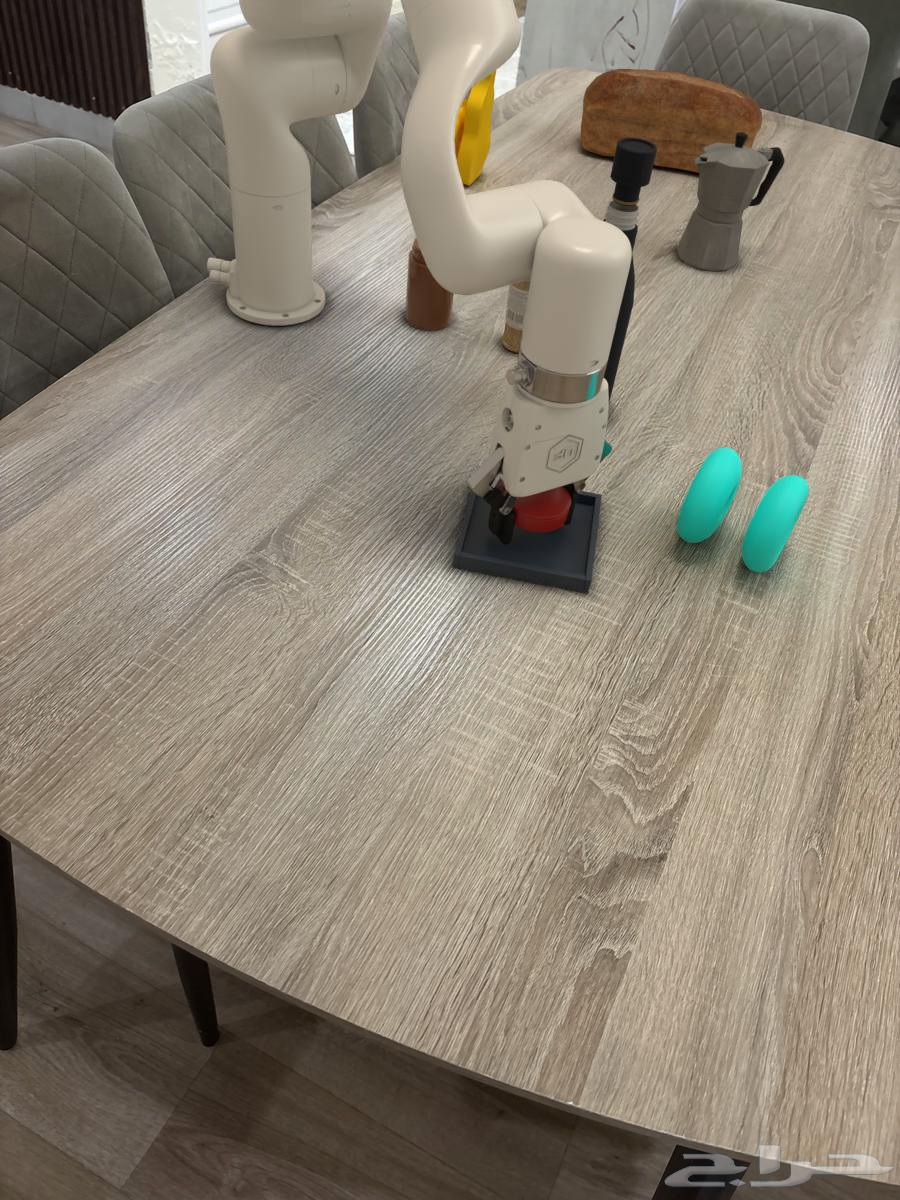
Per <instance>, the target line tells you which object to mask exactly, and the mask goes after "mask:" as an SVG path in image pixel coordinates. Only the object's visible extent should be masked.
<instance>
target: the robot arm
mask: <svg viewBox="0 0 900 1200" xmlns="http://www.w3.org/2000/svg"><path fill="white" fill-rule="evenodd" d="M238 2H239V3H238V4H239V9H240V11H241V13H242V16H243V18H244V20H245V22H246V23H247V24H248V26H242V27H239V28H235V29H233V30H231V31H228V32H227V33H225V34H224V35H222V36H221V37H220V38H219V39H218V40H217V41H216V42H215V44H214V46H213V48H212V50H211V53H210V60H209V69H210V70H209V71H210V77H211V82H212V87H213V91H214V94H215V99H216V103H217V106H218V112H219V117H220V120H221V126H222V131H223V137H224V143H225V151H226V161H227V173H228V182H229V184H228V185H229V196H230V207H231V220H232V231H233V243H234V257H235V259H234V258H233V259H232V260H231V261H229V260H224V258H223V259H222V258H218V257H217V258H216V257H211V256H209V258H208V259H207V262H206V271H207V272H208V274H209V281H210V282H214V283H223V284H226V285H227V286H228V287H227V290H226V292H225V293H226V294H225V295H226V296H225V297H226V304H227V306H228V308H229V310H230V311H231V312H232V313H233V314H234V315H236V316H237V317H239V318H240V319H243V320H245V321H248V322H251V323H253V324H258V325H263V326H272V327H273V326H274V327H278V326H280V327H281V326H283V327H284V326H291V325H292V326H293V325H297V324H303V323H305V322H308V321H309V320H311V319H314V318H315V317H317V316H318V315H319V314H320V313H321V312H322V311H323V310H324V308H325V305H326V292H325V290H324V288H323V287H322V286H321V284H319V283H318V282H317V281H315V280H314V271H313V270H314V268H313V266H314V265H313V225H312V222H313V221H312V220H313V219H312V179H311V175H312V174H311V166H310V165H311V164H310V160H309V157H308V155H307V153H306V150H305V149H304V148H303V146H302V145H301V144H300V143H299V141H298V140H297V139H296V138H295V136H294V135H293V133H292V132H291V130H290V126H291V125H292V124H295V123H298V122H302V121H305V120H311V119H317V118H324V117H332V116H337V115H341V114H345V113H348V112H349V111H352V110H354V109H355V108H356V107H358V105H359V104H360V103H361V102H362V100H363V98H364V96H365V95H366V91H367V89H368V87H369V83H370V80H371V77H372V74H373V71H374V68H375V64H376V61H377V59H378V55H379V52H380V49H381V46H382V42H383V39H384V36H385V33H386V30H387V27H388V23H389V19H390V16H391V13H392V7H393V0H238ZM400 4H401V6H402V10H403V13H404V18H405V20H406V21H405V22H406V24H407V27H408V31H409V35H410V38H411V41H412V45H413V48H414V51H415V55H416V58H417V63H418V79H417V82H416V86H415V88H414V90H413V93H412V96H411V98H410V101H409V104H408V108H407V110H406V113H405V114H406V115H405V119H404V124H403V129H402V137H401V146H400V147H401V148H400V180H401V181H400V182H401V187H402V193H403V197H404V201H405V204H406V207H407V211H408V214H409V217H410V221H411V225H412V227H413V232H414V235H415V239H416V238H417V241H418V244H419V247H420V250H421V252H422V255H423V257H424V260H425V262H426V265H427V267H428V269H429V270H430V272H431V274H432V275H433V277H434V278H435V280H436V281H437V282H438V283H439V284H440V285H441V286H442V287H443V288H444V289H446V290H448V291H449V292H451V293H454V295H457V296H458V295H459V296H472V295H477V294H478V295H479V294H481V293H485V292H490V291H493V290H497V289H500V288H504V287H508V286H510V285H511V284H515V283H518V282H522V281H530V287H529V293H528V300H527V306H526V312H525V318H524V325H523V331H522V337H521V344H520V350H519V353H518V357H517V363H516V365H515V366H514V367H513V368H509V369H507V371H506V375H505V376H506V381H507V383H508V385H507V388H506V389H505V392H504V395H503V398H502V401H501V403H500V407H499V410H498V414H497V417H496V420H495V425H494V428H493V433H492V436H491V442H490V448H489V456H488V458H487V459H485V461H484V462H483V463H482V464H481V465H480V466H479V467H478V468H477V469H476V470H475V471H474V472H473V474H471V475H470V476H469V477H468V479H466V485H467V487H469V488H470V490H471V491H473V492H474V493H475V494H477V495H478V496H479V497H481V498H482V499H484V500H485V501H486V502H487V503H488V504H489V505H491V509H490V515H489V521H488V526H489V529H490V531H491V532H492V533H493V534H494V535H496V536H497V537H498V538H499V540H500V541H501V542H502V543H503V544H504V545H507V544H510V542H511V540H512V534H513V529H514V523H515V518H516V513H515V512H514V511H513V510H512V509H513V507H514V505H515V503H516V502H517V500H518V498H519V497H525V496H530V495H533V494H537V493H540V492H544V491H547V490H551V489H554V488H557V487H561V486H563V487H564V488H565V489H566V490H567V491H568V493H569V494H570V497H571V505H570V509H569V512H568V516H567V519H566V522H565V524H563V525H568V524H570V523H571V520H572V516H573V512H574V507H575V503H576V499H577V493H578V492H581V491H584V490H585V488H586V486H587V485H586V481H587V480H588V479H589V478H590V477H591V476H592V475H594V474H595V473H596V472H597V470H598V468H599V466H600V464H601V463H602V462H603V461H604V460H605V459H606V457H607V456H609V455H610V453H611V452H612V451H613V446H612V445H611V444H610V443H609V442H608V441H607V440H606V434H607V433H606V432H607V427H608V419H609V408H610V407H609V406H610V402H609V394H608V383H607V381H606V380H605V379H604V374H605V370H606V366H607V362H608V357H609V353H610V349H611V344H612V340H613V336H614V332H615V328H616V324H617V319H618V315H619V311H620V306H621V302H622V298H623V294H624V290H625V285H626V281H627V277H628V273H629V269H630V263H631V257H632V249H631V244H630V242H629V239H628V238H627V236H626V235H625V234H624V233H623V232H622V231H621V230H620V229H619V228H617V227H616V226H614V225H612V224H610V223H608V222H605V221H603V220H601V219H598V218H597V217H596V216H595V214H593V213H592V212H591V210H590V209H589V208H587V206H586V205H585V204H584V203H583V202H582V200H581V199H580V198H579V197H578V196H577V195H576V194H575V192H573V191H572V189H570V188H569V187H568V186H567V185H565V184H564V183H562V182H559V181H556V180H552V179H538V180H532V181H528V182H523V183H519V184H515V185H508V186H503V187H498V188H493V189H488V190H484V191H479V192H475V193H470V194H466V189H465V186H464V184H463V183H462V180H461V176H460V173H459V169H458V165H457V159H456V154H455V139H454V138H455V126H456V121H457V117H458V113H459V110H460V107H461V105H462V102H463V100H464V99H465V98H467V95H468V93H470V91H471V89H472V87H473V86H474V85H476V84H477V83H479V82H480V81H481V80H483V79H484V78H486V77H487V76H489V75H490V74H491V73H493V72H494V71H496V72H497V70H498V69H500V68H501V67H502V66H503V65H504V64H505V63H507V62H508V61H509V60H510V59H511V58H512V56H513V55H514V54H515V53H516V51H517V49H518V48H519V46H520V42H521V39H522V29H521V24H520V20H519V16H518V13H517V10H516V7H515V1H514V0H400ZM495 477H496V478H495ZM494 478H495V480H494V482H493V483H492V485H491V486H490V485H489V484H490V483H491V482H492V480H493V479H494ZM504 488H505V489H506V490H507V491H508V492H507V494H506V496H504V495H503V494H501V493H502V491H503V489H504Z"/></svg>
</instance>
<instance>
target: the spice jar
mask: <svg viewBox="0 0 900 1200" xmlns="http://www.w3.org/2000/svg"><path fill="white" fill-rule="evenodd" d="M529 287H530V281H522V282H518V283H515V284H511V285H509V288H508V294H507V304H506V310H505V318H504V319H505V321H504V322H505V323H504V330H503V335H502V338H501V344H502V346H503V347H504V348H505V349H507V350H509V351H511V352H513V353H518V354H519V350H520V344H521V337H522V331H523V325H524V318H525V312H526V306H527V300H528V293H529Z"/></svg>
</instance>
